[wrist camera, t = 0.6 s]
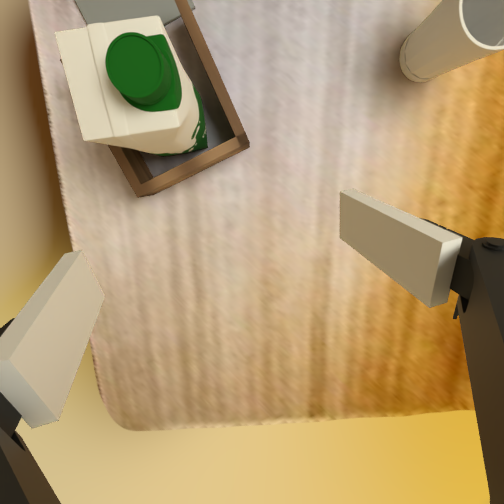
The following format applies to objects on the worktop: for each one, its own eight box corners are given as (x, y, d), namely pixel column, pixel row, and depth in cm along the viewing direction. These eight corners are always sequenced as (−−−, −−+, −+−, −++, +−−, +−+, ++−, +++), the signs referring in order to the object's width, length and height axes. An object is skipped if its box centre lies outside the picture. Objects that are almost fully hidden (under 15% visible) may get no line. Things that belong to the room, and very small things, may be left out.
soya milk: (215, 153, 39) (181, 130, 20) (152, 162, 40) (58, 148, 20) (204, 84, 37) (154, -18, 18) (137, 94, 37) (17, 4, 18)
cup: (417, 103, 38) (491, 70, 26) (380, 55, 36) (441, -2, 25) (467, 54, 36) (568, -3, 25) (430, 3, 35) (519, -83, 23)
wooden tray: (193, 20, 35) (182, -11, 30) (249, 147, 39) (249, 141, 33) (89, 78, 37) (59, 59, 31) (153, 194, 41) (137, 197, 35)
